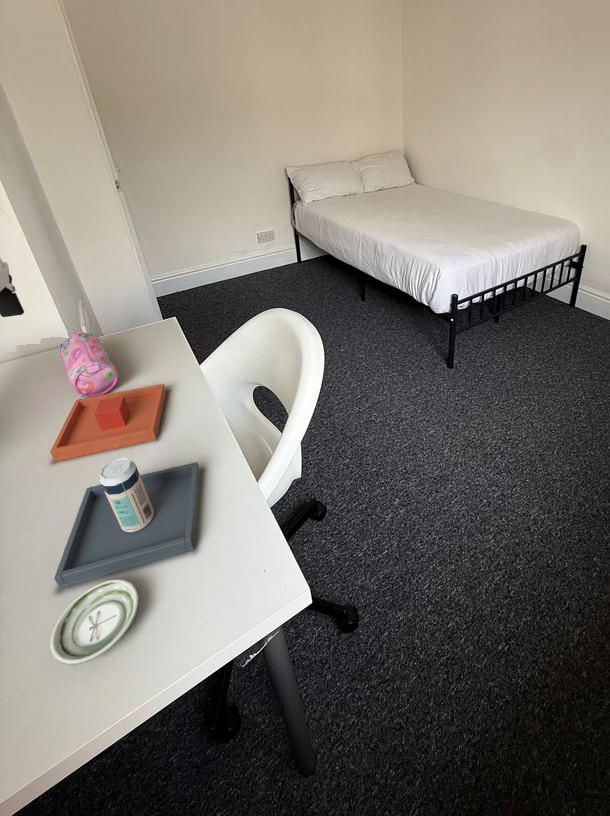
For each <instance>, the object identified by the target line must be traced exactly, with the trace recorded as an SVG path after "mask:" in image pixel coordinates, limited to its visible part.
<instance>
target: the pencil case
mask: <svg viewBox="0 0 610 816" xmlns="http://www.w3.org/2000/svg"><path fill="white" fill-rule="evenodd" d="M59 349H60V350H59V352H60V357H61V359H62V362H63V365H64V368H65V371H66V375H67V379H68V381H69V382H70V384H71V385H72V386H73V389H74V391H75V392H76V393H77V394H78V395H80V396H82V397H83V398H89V397H95V396H100V395H106V394H108V392H110V391H112V389H113V388H114V387H115V386H116V385H117V383H118V381H119V372H118V370H117V368H116V366H115V364H114V363H113V361H112V360H111V359H110V358H109V357H110V356H109V354H108V353H107V350H106V349H105V348H104V345H103V344H102V343H101V340H100V338H99V337H98V336H97V335H96V334H94V333H89V332H83V331H82V330H79V331H75V332H72V333H71V336H70V337H68V338H67V339H66V340H65V341H64V342H63V343H61V344H60V348H59Z"/></svg>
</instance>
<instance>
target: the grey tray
mask: <svg viewBox="0 0 610 816" xmlns="http://www.w3.org/2000/svg"><path fill="white" fill-rule="evenodd" d="M140 477H141V479H142V482H143V484H144V487H145V489H146V492H147V494H148V497H149V499H150V502H151V504H152V507H153V509H154V515H153V517H152V519H151V521H150V522H149V523H148V524H147V525H146V526H145V527H143V528H142V529H140V530H137V531H134V532H126V531H124V530H123V529H122V528H121V526H120V524H119V522H118V520H117V518H116V516H115V513H114V511H113V509H112V507H111V505H110V503H109V501H108V498H107V496H106V494H105V492H104V490H103V488H102V486H101V484H98V485H94V486H89V487H87V488H86V489H85V493H84V495H83V497H82V501H81V503H80V506H79V509H78V511H77V513H76V517H75V520H74V523H73V525H72V528H71V531H70V534H69V537H68V539H67V543H66V545H65V547H64V550H63V553H62V556H61V558H60V561H59V564H58V567H57V569H56V571H55V575H54V577H53V579H54V581H55V582H56V584H57V586H58V587H59V589H60V590H62V589H65V588H71V587H73V586H76V585H80V584H82V583H86V582H90V581H94V580H97V579H100V578H104V577H106V576H110V575H114V574H118V573H121V572H125V571H128V570H131V569H135V568H138V567H141V566H145V565H148V564H152V563H155V562H159V561H162V560H165V559H169V558H173V557H177V556H180V555H183V554H186V553H189V552H193V551H195V544H196V543H195V541H196V531H197V517H198V506H199V494H200V493H199V492H200V480H201V469H200V466H199V463H198V461H195V462H190V463H187V464H182V465H178V466H174V467H170V468H165V469H161V470H157V471H153V472H149V473H143V474H140Z"/></svg>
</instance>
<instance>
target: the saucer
mask: <svg viewBox="0 0 610 816" xmlns="http://www.w3.org/2000/svg"><path fill="white" fill-rule="evenodd" d="M139 597H140V596H139V592H138V590H137V588H136V586H135V585H134V584H133V583H132V582H130V581H128V580H125V579H121V578H120V579H119V578H117V579H116V578H115V579H108V580H105V581H102V582H99V583H97V584H95V585H93V586H91V587H89V588H87V589H86V590H85V591H83V592H82V593H81V594H79V595H78V596H76V597H75V598H74V599H73V600H72V601H71V603H69V604H68V605H67V606H66V608H65V609H64V610H63V611H62V613H61V614H60V616H59V617H58V619H57V621H56V623H55V624H54V627H53V629H52V632H51V635H50V641H49V645H50V646H49V647H50V652H51V654H52V656H53V657H54V659H55V660H56V661H58V662H59V663H61V664H64V665H71V666H72V665H73V666H74V665H82V664H84V663H88V662H91V661H93V660H95V659H97V658H99V657H100V656H102V655H104V654H105V653H106V652H108V651H110V649H112V647H114V646H115V645H116V644H117V643H118V642H119V641H120V640H121V639H122V638H123V637H124V636H125V635H126V633H127V631H128V630H129V628H130V627H131V625H132V623H133V622H134V620H135V617H136V615H137V612H138V609H139V602H140V598H139Z"/></svg>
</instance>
